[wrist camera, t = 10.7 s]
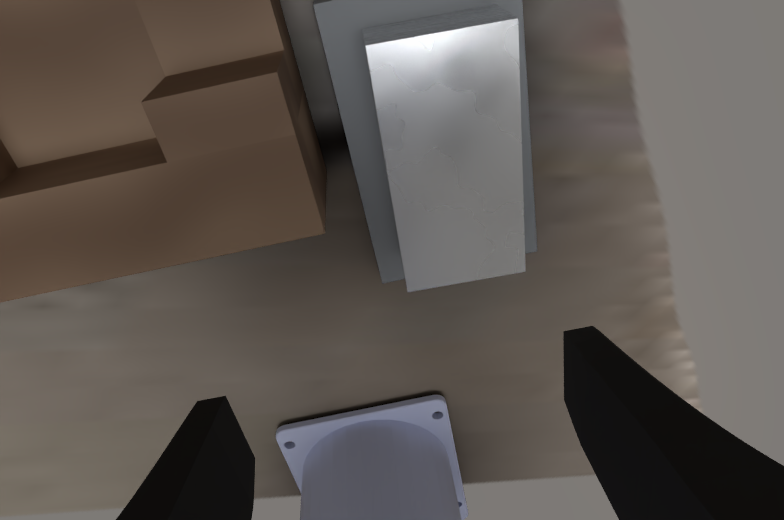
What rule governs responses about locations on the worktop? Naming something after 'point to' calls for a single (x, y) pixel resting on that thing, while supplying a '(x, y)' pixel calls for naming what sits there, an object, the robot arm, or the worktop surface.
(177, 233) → the pocket board
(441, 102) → the aluminium tile
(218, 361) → the worktop surface
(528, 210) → the slate mat
